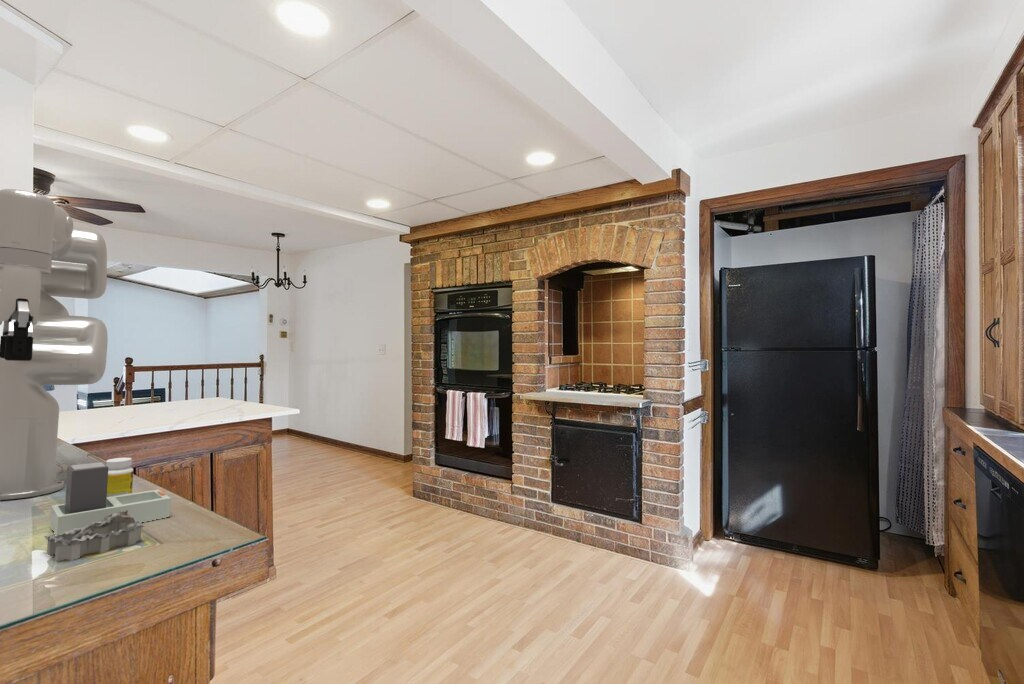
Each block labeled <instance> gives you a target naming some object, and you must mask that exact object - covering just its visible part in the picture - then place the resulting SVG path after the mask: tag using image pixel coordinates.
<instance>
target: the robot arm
mask: <svg viewBox="0 0 1024 684" xmlns="http://www.w3.org/2000/svg"><path fill="white" fill-rule="evenodd" d="M107 253H108V251H107V244H106V240H105V238H104V237H103V235H102V234H101V233H99V232H98V231H96V230H93V229H88V228H81V227H74V220H73V218H72V216H70V215H69V213H68V212H67V211H66V209H64V208H63V207H62V206H59V205H57V204H55V203H54V201H53V200H52V199H51V198H50V197H48V196H45V195H43V194H40V193H36V192H34V191H29V190H23V189H14V188H3V189H0V326H1V325H3V327H2V335H0V501H7V500H15V499H17V500H18V499H24V498H25V499H26V498H31V497H37V496H38V497H39V496H43V495H47V494H52V493H54V492H57V491H60V490H62V489H64V487H65V481H63V480H61V479H58V478H57V476H58V475H59V474H63V473H65V472H67V471H68V467H69V465H68V463H61V464H57V462H56V461H57V451H58V450H57V447H58V433H59V432H58V431H59V420H60V419H59V418H60V405H59V403H58V401H57V400H56V399H55V397H54V396H53V395H51V393H49V392H48V391H47V390H46V389H45V388H44V387H46V386H82V385H83V386H84V385H85V386H86V385H92V384H93V385H94V384H95V383H97V382H99V381H100V380H101V379H102V378H103V377H104V374H105V371H106V365H107V356H108V355H107V353H108V343H109V342H108V341H109V340H108V338H109V337H108V329H107V326H106V324H105V323H104V322H103V320H101V319H99V318H97V317H93V316H83V315H82V316H79V315H71V314H69V311H68V310H67V308H66V307H65V306H64V305H63V304H62V303H61V302H60V301H59V300H58V299H56V298H54V297H61V298H62V297H63V298H73V299H74V298H75V299H76V298H77V299H87V300H91V299H92V300H93V299H100V298H101V297H102V296H103V295H104V294H105V293H106V289H107V283H108V282H107V279H108V278H107V275H108V274H107V271H108V267H107V266H108V254H107Z"/></svg>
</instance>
